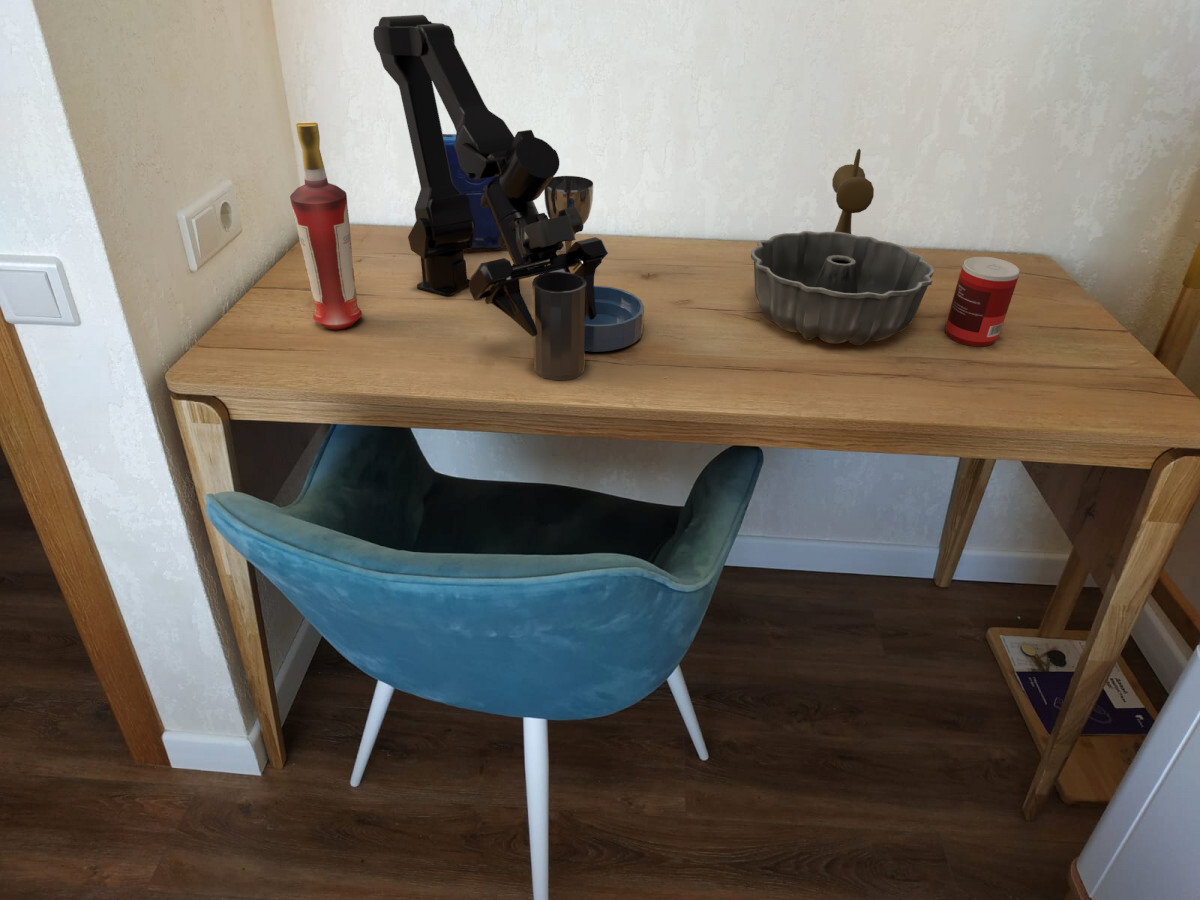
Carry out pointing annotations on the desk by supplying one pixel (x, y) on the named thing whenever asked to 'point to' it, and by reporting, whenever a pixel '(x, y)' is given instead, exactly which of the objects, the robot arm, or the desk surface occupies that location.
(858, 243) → the bundt pan
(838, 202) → the kendama
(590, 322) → the bowl
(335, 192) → the liquor
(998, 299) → the canned food
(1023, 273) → the desk surface
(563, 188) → the wine glass
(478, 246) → the blue box
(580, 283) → the cup
